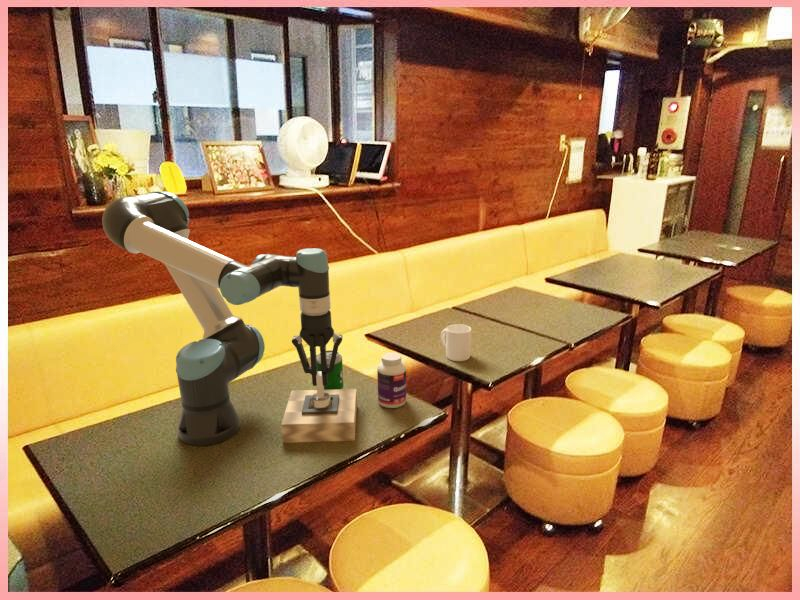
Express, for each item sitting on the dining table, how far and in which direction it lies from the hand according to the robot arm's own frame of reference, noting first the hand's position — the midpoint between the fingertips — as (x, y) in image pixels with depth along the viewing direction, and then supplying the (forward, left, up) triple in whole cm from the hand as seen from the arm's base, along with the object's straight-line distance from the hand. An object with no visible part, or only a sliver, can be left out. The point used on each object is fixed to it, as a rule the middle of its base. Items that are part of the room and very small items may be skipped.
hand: (321, 395), depth 147 cm
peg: (0, 0, -6) cm, 6 cm away
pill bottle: (+19, +10, -8) cm, 23 cm away
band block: (0, 0, -8) cm, 8 cm away
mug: (+41, +42, -8) cm, 59 cm away
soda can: (+1, +18, -8) cm, 20 cm away
